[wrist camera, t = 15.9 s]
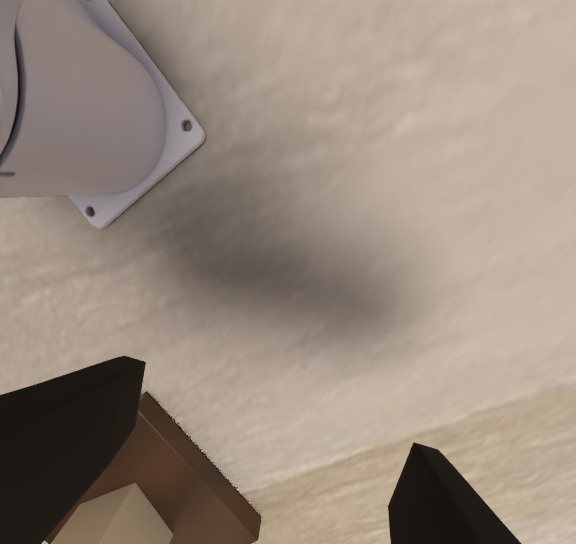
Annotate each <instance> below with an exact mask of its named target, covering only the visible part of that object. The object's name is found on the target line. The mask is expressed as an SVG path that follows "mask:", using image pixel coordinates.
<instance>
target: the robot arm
mask: <svg viewBox="0 0 576 544" xmlns="http://www.w3.org/2000/svg"><path fill="white" fill-rule="evenodd" d="M188 121H190V122H191V124H192V128H191V130H190V131H186V130H185V128H184V127H185V123H186V122H188ZM204 140H205V132H204V130H203V128H202V127H201V125H200V124H199V123H198V121H197V120H196V119H195V117H194V116H193V115H192V113H191V112H190V111H189V109H188V108H187V107H186V105H185V104H184V103H183V101H182V100H181V99H180V97H179V96H178V95H177V93H176V92H175V91H174V89H173V88H172V86H171V85H170V84H169V82H168V81H167V80H166V78H165V77H164V76H163V74H162V73H161V72H160V70H159V69H158V68H157V66H156V65H155V64H154V62H153V61H152V60H151V58H150V57H149V56H148V54H147V53H146V52H145V50H144V49H143V48H142V46H141V45H140V43H139V42H138V41H137V39H136V38H135V37H134V35H133V34H132V33H131V31H130V30H129V29H128V27H127V26H126V25H125V23H124V22H123V21H122V19H121V18H120V17H119V15H118V14H117V13H116V11H115V10H114V9H113V7H112V6H111V5H110V3H109V2H108V0H91V1H88V0H0V198H15V197H44V196H67V197H68V198H69V199H70V200H71V201H72V203H73V204H74V205H75V206H76V207H77V208H78V210H79V211H80V212H81V213H82V214H83V216H84V217H85V218H86V219H87V220H88V221H89V223H90V224H91V225H92V226H94V227H96V228H104V227H106V226H108V225H109V224H110V223H111V222H112V221H113V220H115V219H116V218H117V217H118V216H119V215H120V214H121V213H123V212H124V211H125V210H126V209H127V208H128V207H130V206H131V205H132V204H133V203H134V202H135V201H137V200H138V199H139V198H140V197H141V196H142V195H143V194H145V193H146V192H147V191H148V190H149V189H150V188H152V187H153V186H154V185H155V184H156V183H157V182H158V181H160V180H161V179H162V178H163V177H164V176H165V175H167V174H168V173H169V172H170V171H171V170H172V169H173V168H175V167H176V166H177V165H178V164H179V163H180V162H182V161H183V160H184V159H185V158H186V157H187V156H188V155H190V154H191V153H192V152H193V151H194V150H195V149H197V148H198V147H199V146H200V145H201V144H202V143H203V142H204ZM92 207H93V208H94V210H95V215H93V214H92V213H91V208H92ZM145 364H146V362H144V361H140V360H137V359H134V358H130V357H127V356H122V357H118V358H114V359H111V360H108V361H105V362H102V363H99V364H96V365H93V366H90V367H87V368H84V369H81V370H78V371H75V372H72V373H69V374H66V375H63V376H60V377H57V378H54V379H51V380H48V381H45V382H42V383H39V384H36V385H33V386H29V387H26V388H23V389H19V390H16V391H13V392H9V393H6V394H3V395H0V544H41V543H42V542H43V541H44V540H45V539H46V538H47V537H48V535H49V534H50V533H51V532H52V531H53V530H54V528H55V527H56V526H57V525H58V524H59V523H60V521H61V520H62V519H63V518H64V517H65V516H66V515H67V513H68V512H69V511H70V510H71V509H72V508H73V506H74V505H75V504H76V503H77V502H78V501H79V500H80V498H81V497H82V496H83V495H84V494H85V493H86V491H87V490H88V489H89V488H90V487H91V486H92V484H93V483H94V482H95V481H96V480H97V479H98V477H99V476H100V475H101V474H102V473H103V471H104V470H105V469H106V468H107V467H108V465H109V464H110V463H111V462H112V460H113V459H114V457H115V456H116V455H117V453H118V452H119V450H120V449H121V447H122V446H123V445H124V443H125V442H126V440H127V439H128V437H129V436H130V434H131V433H132V431H133V430H134V428H135V426H136V420H137V413H138V407H139V401H140V395H141V389H142V382H143V376H144V370H145ZM388 511H389V525H390V537H391V544H521V543H520V542H519V541H518V539H517V538H516V537H515V536H514V535H513V534H512V533H511V532H510V530H509V529H508V528H507V527H506V526H505V525H504V524H503V523H502V521H501V520H500V519H499V518H498V517H497V516H496V515H495V513H494V512H493V511H492V510H491V509H490V508H489V506H488V505H487V504H486V503H485V502H484V501H483V500H482V498H481V497H480V496H479V495H478V494H477V493H476V491H475V490H474V489H473V488H472V487H471V486H470V485H469V483H468V482H467V481H466V480H465V479H464V478H463V476H462V475H461V474H460V473H459V472H458V471H457V470H456V468H455V467H454V466H453V465H452V464H451V463H450V462H449V461H448V460H447V459H446V457H445V456H444V455H443V454H442V453H441V452H440V451H439V450H437V449H434V448H431V447H427V446H424V445H421V444H417V443H413V445H412V448H411V450H410V453H409V455H408V458H407V460H406V463H405V465H404V468H403V470H402V473H401V475H400V478H399V480H398V483H397V485H396V488H395V490H394V493H393V495H392V498H391V500H390V503H389V505H388Z"/></svg>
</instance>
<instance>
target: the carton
mask: <svg viewBox="0 0 576 544" xmlns="http://www.w3.org/2000/svg"><path fill="white" fill-rule="evenodd" d="M172 536H173V533H172V532H171V530H170V529H169V527H168V526H167V525H166V523H165V522H164V521H163V519H162V518H161V517H160V515H159V514H158V512H157V511H156V510H155V508H154V507H153V506H152V504H151V503H150V502H149V500H148V499H147V497H146V496H145V495H144V493H143V492H142V491H141V489H140V488H139V487H138V485H137V484H136V483H133V484H130V485H128V486H125V487H123V488H120V489H117V490H115V491H112V492H110V493H107V494H105V495H102V496H100V497H97V498H95V499H92V500H89V501H87V502H84V503H82V504H80V505H79V506H78V508H77V509H76V510H75V512H74V513H73V514H72V516H71V517H70V518H69V520H68V521H67V523H66V524H65V525H64V527H63V528H62V529H61V531H60V532H59V533H58V535H57V536H56V537H55V539H54V540H53V542H52V543H51V544H170V541H171V539H172Z"/></svg>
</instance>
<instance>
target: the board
mask: <svg viewBox="0 0 576 544" xmlns="http://www.w3.org/2000/svg"><path fill="white" fill-rule="evenodd" d="M133 483H136V484H137V485H138V487H139V488H140V489H141V491H142V492H143V493H144V495H145V496H146V497H147V499H148V500H149V502H150V503H151V504H152V506H153V507H154V508H155V510H156V511H157V512H158V514H159V515H160V517H161V518H162V519H163V521H164V522H165V523H166V525H167V526H168V527H169V529H170V530H171V532H172V533H173V536H172V539H171V541H170V544H251V543H253V542H255V541H257V540H258V537H259V530H260V524H261V518H260V516H259V515H258V514H257V513H256V512H255V511H254V510H253V509H252V508H251V507H250V505H249V504H248V503H247V502H246V501H245V500H244V499H243V498H242V497H241V496H240V494H239V493H238V492H237V491H236V490H235V489H234V488H233V487H232V486H231V485H230V483H229V482H228V481H227V480H226V479H225V478H224V477H223V476H222V475H221V474H220V472H219V471H218V470H217V469H216V468H215V467H214V466H213V465H212V464H211V463H210V461H209V460H208V459H207V458H206V457H205V456H204V455H203V454H202V453H201V452H200V450H199V449H198V448H197V447H196V446H195V445H194V444H193V443H192V442H191V441H190V439H189V438H188V437H187V436H186V435H185V434H184V433H183V432H182V431H181V430H180V428H179V427H178V426H177V425H176V424H175V423H174V422H173V421H172V420H171V418H170V417H169V416H168V415H167V414H166V413H165V412H164V411H163V410H162V409H161V407H160V406H159V405H158V404H157V403H156V402H155V401H154V400H153V399H152V398H151V396H150V395H149V394H148V393H145V394H143V395H142V396H140V401H139V407H138V413H137V420H136V426H135V428H134V430H133V431H132V433H131V434H130V436H129V437H128V439H127V440H126V442H125V443H124V445H123V446H122V447H121V449H120V450H119V452H118V453H117V455H116V456H115V457H114V459H113V460H112V462H111V463H110V464H109V465H108V467H107V468H106V469H105V470H104V471H103V473H102V474H101V475H100V476H99V477H98V479H97V480H96V481H95V482H94V483H93V484H92V486H91V487H90V488H89V489H88V490H87V491H86V493H85V494H84V495H83V496H82V497H81V498H80V500H79V501H78V502H77V503H76V504H75V505H74V506H73V508H72V509H71V510H70V511H69V512H68V513H67V515H66V516H65V517H64V518H63V519H62V520H61V521H60V523H59V524H58V525H57V526H56V527H55V528H54V530H53V531H52V532H51V533H50V534H49V535H48V537H47V538H46V539H45V541H46V542H47V543H48V544H51V543H52V542H53V540H54V539H55V537H56V536H57V535H58V533H59V532H60V531H61V529H62V528H63V527H64V525H65V524H66V523H67V521H68V520H69V518H70V517H71V516H72V514H73V513H74V512H75V510H76V509H77V508H78V506H79V505H80V504H82V503H84V502H87V501H89V500H92V499H95V498H97V497H100V496H102V495H105V494H107V493H110V492H112V491H115V490H117V489H120V488H123V487H125V486H128V485H130V484H133Z"/></svg>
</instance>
